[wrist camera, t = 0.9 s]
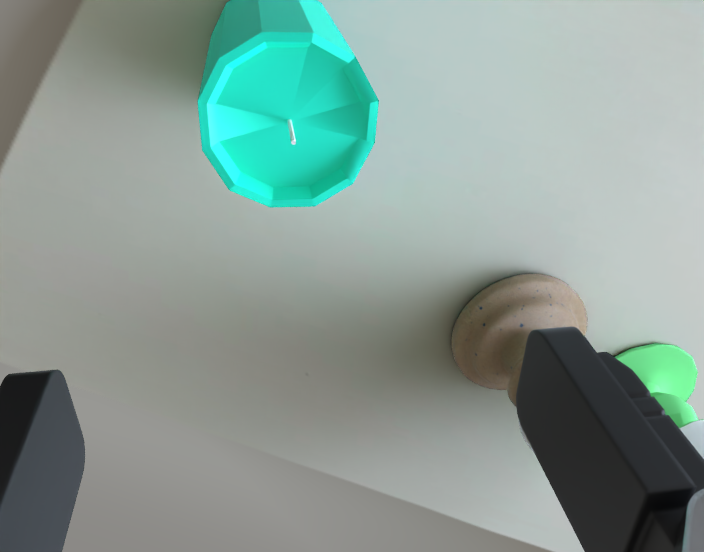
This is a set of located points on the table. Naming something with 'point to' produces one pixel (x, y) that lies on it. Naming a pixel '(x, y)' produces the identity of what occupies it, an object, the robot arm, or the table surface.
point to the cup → (669, 384)
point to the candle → (284, 103)
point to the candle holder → (511, 327)
